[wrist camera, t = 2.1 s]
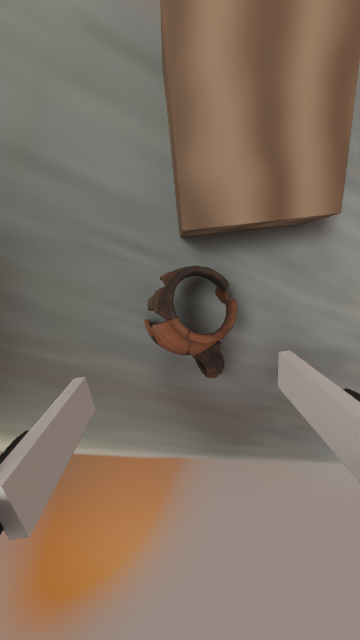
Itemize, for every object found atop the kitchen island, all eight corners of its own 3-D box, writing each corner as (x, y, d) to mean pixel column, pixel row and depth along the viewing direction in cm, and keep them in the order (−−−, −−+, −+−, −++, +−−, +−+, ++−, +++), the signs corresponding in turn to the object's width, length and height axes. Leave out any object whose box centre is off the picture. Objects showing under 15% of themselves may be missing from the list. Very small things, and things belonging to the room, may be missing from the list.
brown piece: (124, 305, 23) (132, 283, 15) (186, 272, 26) (217, 241, 19) (176, 389, 24) (209, 408, 16) (230, 346, 27) (277, 345, 19)
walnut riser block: (179, 237, 21) (182, 230, 17) (162, 70, 17) (160, -3, 13) (303, 223, 22) (340, 213, 17) (315, 55, 18) (369, -21, 13)
